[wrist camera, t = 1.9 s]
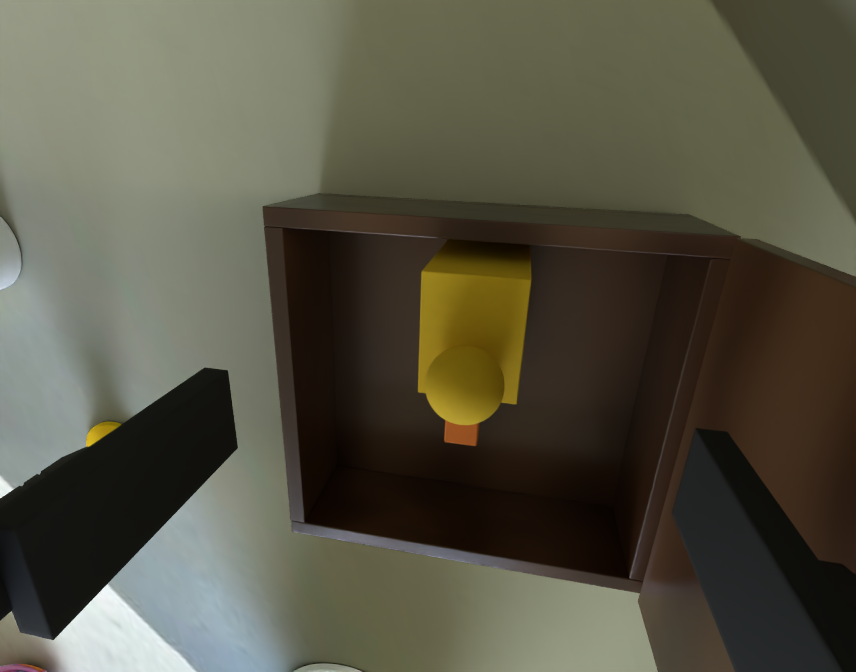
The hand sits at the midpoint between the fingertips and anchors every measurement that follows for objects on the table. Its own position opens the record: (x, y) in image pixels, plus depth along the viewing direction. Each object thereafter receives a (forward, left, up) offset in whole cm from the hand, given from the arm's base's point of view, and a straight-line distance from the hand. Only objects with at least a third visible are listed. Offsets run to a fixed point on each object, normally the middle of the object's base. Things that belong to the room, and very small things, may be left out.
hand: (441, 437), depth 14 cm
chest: (+3, +3, -15) cm, 16 cm away
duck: (0, 0, -14) cm, 14 cm away
